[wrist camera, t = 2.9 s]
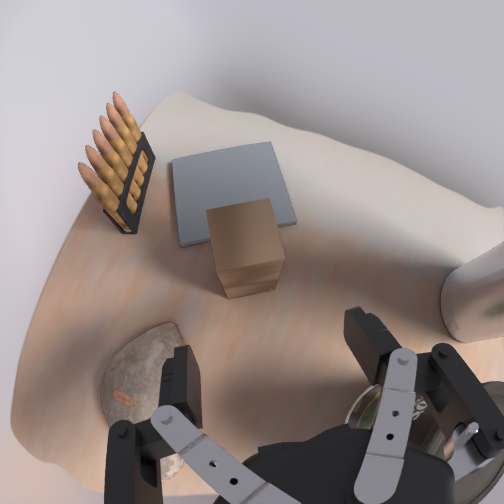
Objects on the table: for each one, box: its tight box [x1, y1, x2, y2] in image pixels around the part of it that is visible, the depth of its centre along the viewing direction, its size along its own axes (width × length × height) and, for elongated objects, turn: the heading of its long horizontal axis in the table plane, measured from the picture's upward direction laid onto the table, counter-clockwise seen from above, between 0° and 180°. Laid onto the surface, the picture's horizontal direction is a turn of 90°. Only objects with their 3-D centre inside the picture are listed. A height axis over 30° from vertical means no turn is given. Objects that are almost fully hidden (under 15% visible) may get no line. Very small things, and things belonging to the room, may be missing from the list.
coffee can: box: [344, 381, 504, 504], centre depth 15 cm, size 10×10×14 cm
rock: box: [100, 322, 185, 479], centre depth 22 cm, size 15×4×10 cm
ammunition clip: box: [78, 92, 155, 234], centre depth 25 cm, size 11×2×12 cm, turn 177°
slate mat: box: [172, 141, 297, 247], centre depth 30 cm, size 12×11×1 cm
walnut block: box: [206, 198, 286, 299], centre depth 23 cm, size 4×4×10 cm
